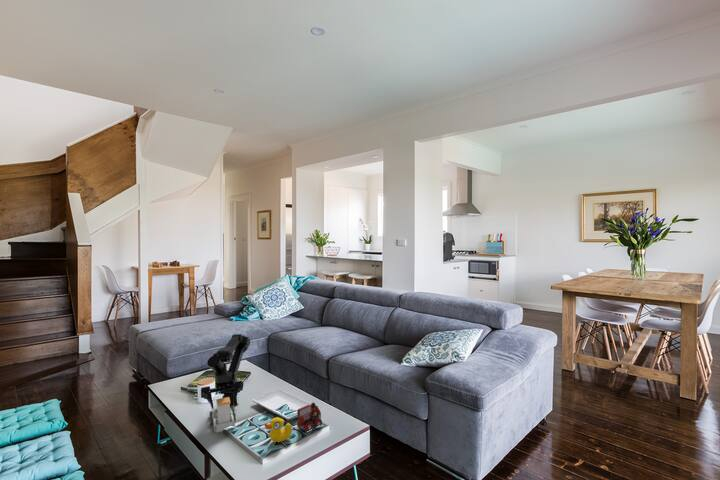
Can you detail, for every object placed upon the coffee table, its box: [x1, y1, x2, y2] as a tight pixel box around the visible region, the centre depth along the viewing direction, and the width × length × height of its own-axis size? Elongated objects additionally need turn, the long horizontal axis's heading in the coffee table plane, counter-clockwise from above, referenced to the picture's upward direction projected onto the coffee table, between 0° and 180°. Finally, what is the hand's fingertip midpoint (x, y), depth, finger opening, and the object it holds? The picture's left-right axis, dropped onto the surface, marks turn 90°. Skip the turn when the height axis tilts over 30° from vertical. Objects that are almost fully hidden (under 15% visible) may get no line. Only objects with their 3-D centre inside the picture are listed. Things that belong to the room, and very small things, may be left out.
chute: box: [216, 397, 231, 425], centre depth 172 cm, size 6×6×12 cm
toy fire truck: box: [296, 402, 323, 433], centre depth 170 cm, size 7×12×10 cm, turn 135°
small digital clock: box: [209, 406, 237, 434], centre depth 176 cm, size 11×17×3 cm, turn 24°
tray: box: [251, 388, 311, 421], centre depth 189 cm, size 17×31×4 cm, turn 47°
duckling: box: [264, 417, 293, 443], centre depth 159 cm, size 11×5×10 cm, turn 115°
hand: (223, 406), depth 173 cm, fingers open, 9 cm apart
